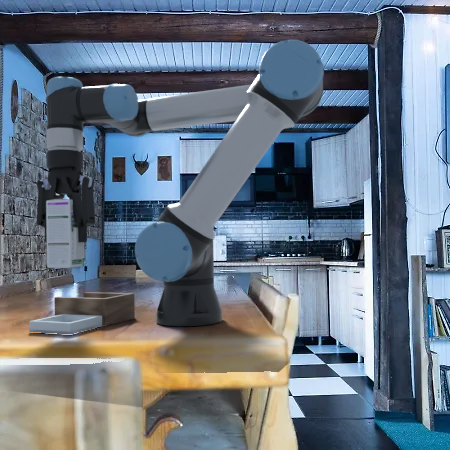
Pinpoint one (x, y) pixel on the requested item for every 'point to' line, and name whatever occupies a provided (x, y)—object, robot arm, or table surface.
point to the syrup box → (60, 234)
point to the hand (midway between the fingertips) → (65, 258)
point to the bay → (98, 306)
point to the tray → (65, 324)
